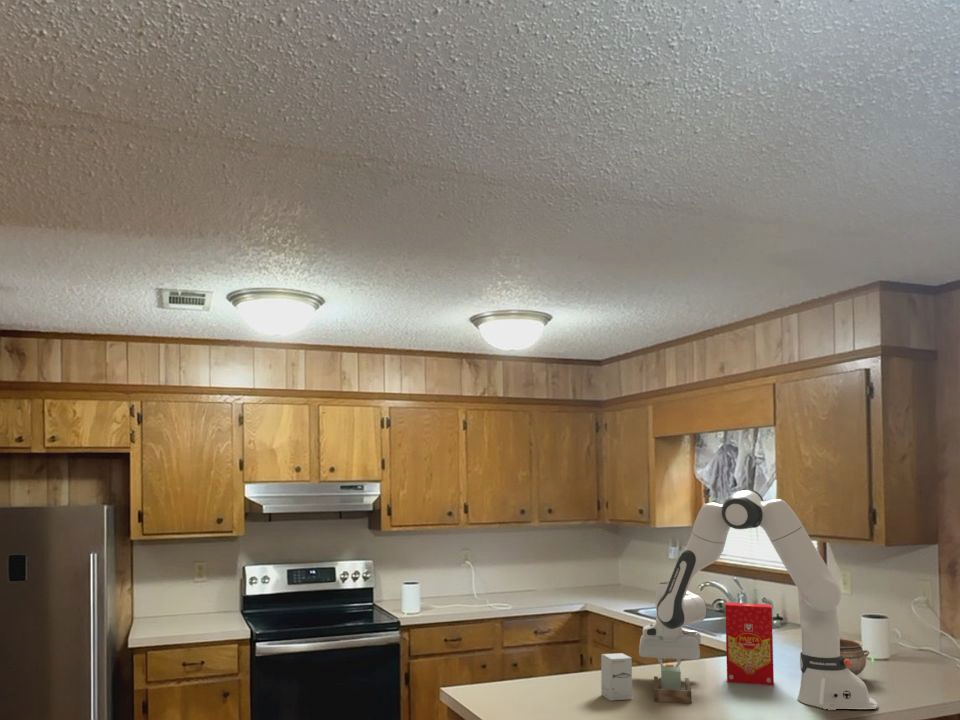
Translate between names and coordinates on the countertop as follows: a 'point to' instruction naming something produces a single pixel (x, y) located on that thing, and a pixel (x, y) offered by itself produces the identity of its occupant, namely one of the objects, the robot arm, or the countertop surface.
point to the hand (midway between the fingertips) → (669, 671)
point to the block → (670, 677)
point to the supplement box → (616, 676)
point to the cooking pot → (853, 654)
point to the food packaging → (749, 643)
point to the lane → (672, 693)
